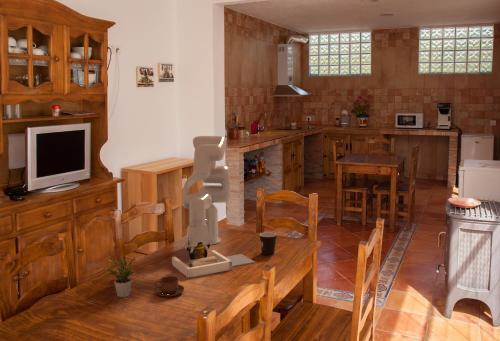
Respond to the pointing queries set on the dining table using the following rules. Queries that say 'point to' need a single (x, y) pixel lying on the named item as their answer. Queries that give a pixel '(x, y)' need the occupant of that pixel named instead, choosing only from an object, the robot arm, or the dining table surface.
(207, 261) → the offcuts
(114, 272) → the house plant
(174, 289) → the cup and saucer
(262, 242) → the coffee mug
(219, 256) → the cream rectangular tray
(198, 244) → the condiment
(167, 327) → the dining table surface
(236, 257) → the mat
